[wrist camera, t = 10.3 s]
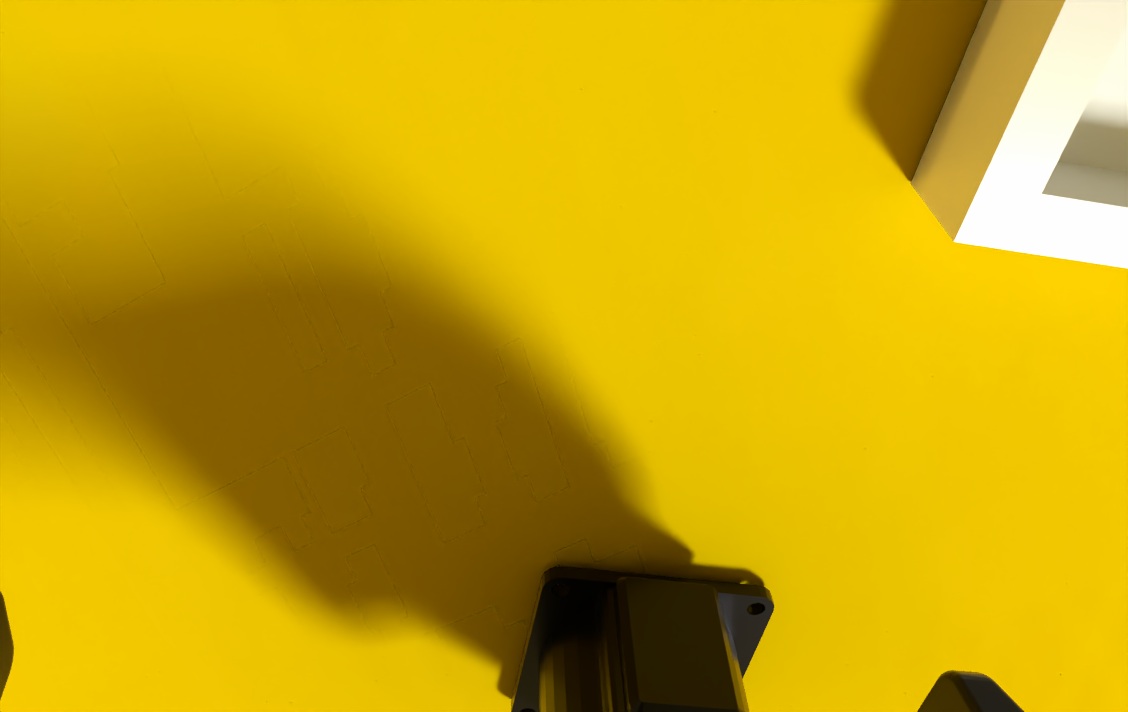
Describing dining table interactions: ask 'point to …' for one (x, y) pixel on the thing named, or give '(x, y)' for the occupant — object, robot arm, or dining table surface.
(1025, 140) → the bin tray
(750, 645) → the robot arm
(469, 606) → the dining table surface
